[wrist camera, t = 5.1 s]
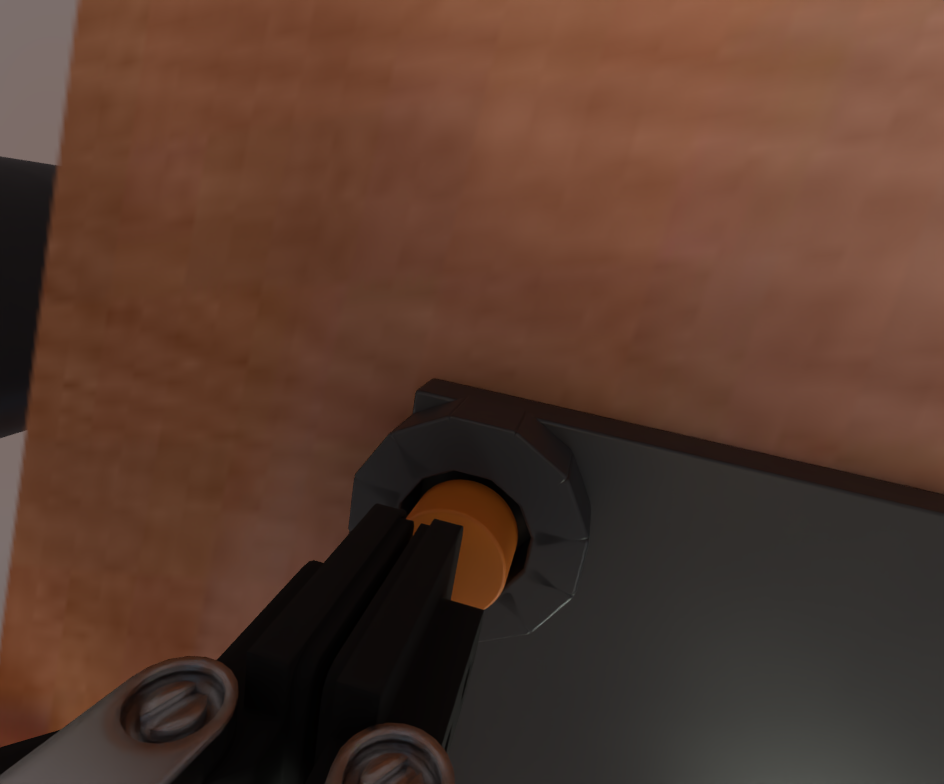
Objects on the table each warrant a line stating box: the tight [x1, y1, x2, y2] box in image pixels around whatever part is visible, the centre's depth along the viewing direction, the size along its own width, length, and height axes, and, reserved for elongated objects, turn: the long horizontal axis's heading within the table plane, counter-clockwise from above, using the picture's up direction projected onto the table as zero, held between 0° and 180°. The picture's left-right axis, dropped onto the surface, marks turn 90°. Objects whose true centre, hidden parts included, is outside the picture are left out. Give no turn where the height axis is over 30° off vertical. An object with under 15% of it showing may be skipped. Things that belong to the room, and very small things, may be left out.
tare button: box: [406, 479, 518, 610], centre depth 11 cm, size 2×2×2 cm
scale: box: [348, 379, 944, 784], centre depth 13 cm, size 17×13×3 cm
